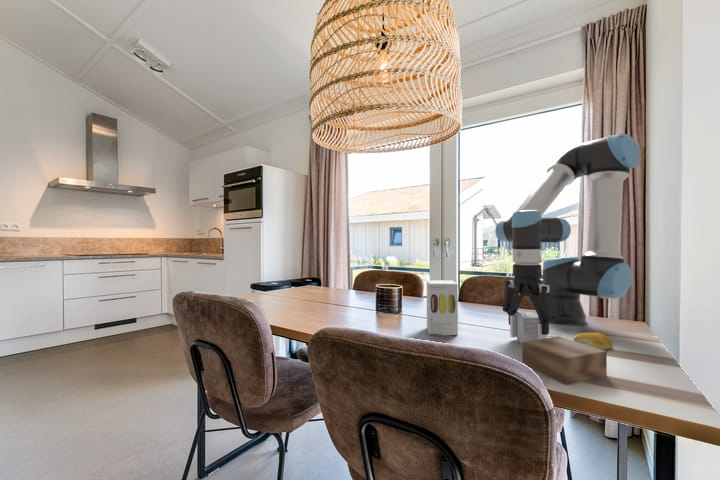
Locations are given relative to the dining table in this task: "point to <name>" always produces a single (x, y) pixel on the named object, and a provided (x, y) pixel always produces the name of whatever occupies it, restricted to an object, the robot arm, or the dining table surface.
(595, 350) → the walnut block
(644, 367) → the dining table surface
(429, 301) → the supplement box
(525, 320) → the medicine box
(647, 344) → the dining table surface
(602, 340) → the bread roll
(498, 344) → the dining table surface
